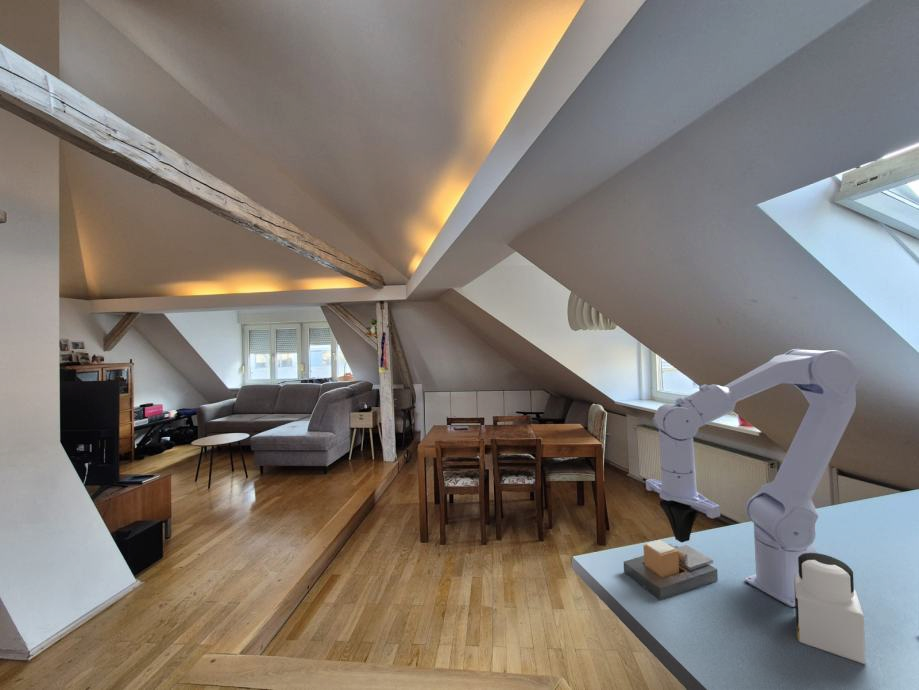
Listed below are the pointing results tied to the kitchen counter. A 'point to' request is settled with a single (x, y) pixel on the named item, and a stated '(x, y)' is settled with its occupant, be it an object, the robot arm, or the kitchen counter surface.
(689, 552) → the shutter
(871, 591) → the kitchen counter surface
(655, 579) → the socket plate
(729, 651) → the kitchen counter surface
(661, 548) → the brown and white block
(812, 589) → the medicine bottle
